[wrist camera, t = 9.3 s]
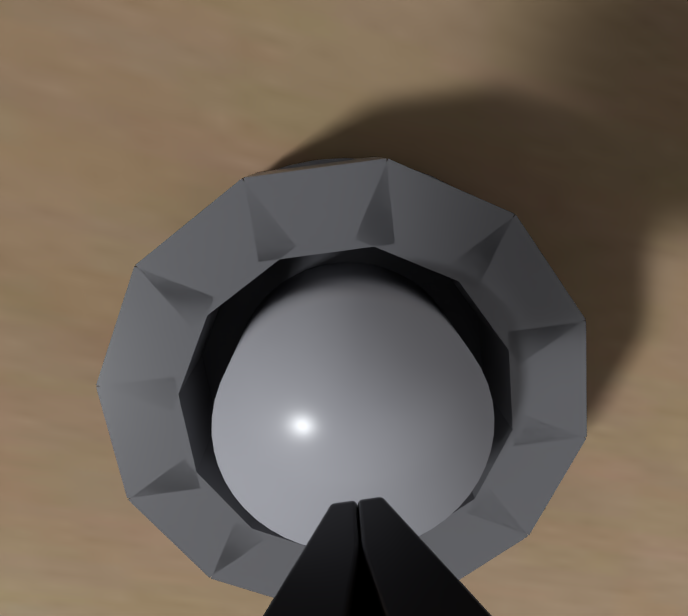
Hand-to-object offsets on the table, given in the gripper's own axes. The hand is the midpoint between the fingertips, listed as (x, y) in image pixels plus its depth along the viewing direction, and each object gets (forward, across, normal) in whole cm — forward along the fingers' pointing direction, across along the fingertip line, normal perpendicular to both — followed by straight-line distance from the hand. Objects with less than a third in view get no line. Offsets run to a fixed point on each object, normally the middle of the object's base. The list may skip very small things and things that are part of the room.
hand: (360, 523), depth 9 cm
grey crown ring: (+7, 0, 0) cm, 7 cm away
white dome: (+6, 0, 0) cm, 7 cm away
